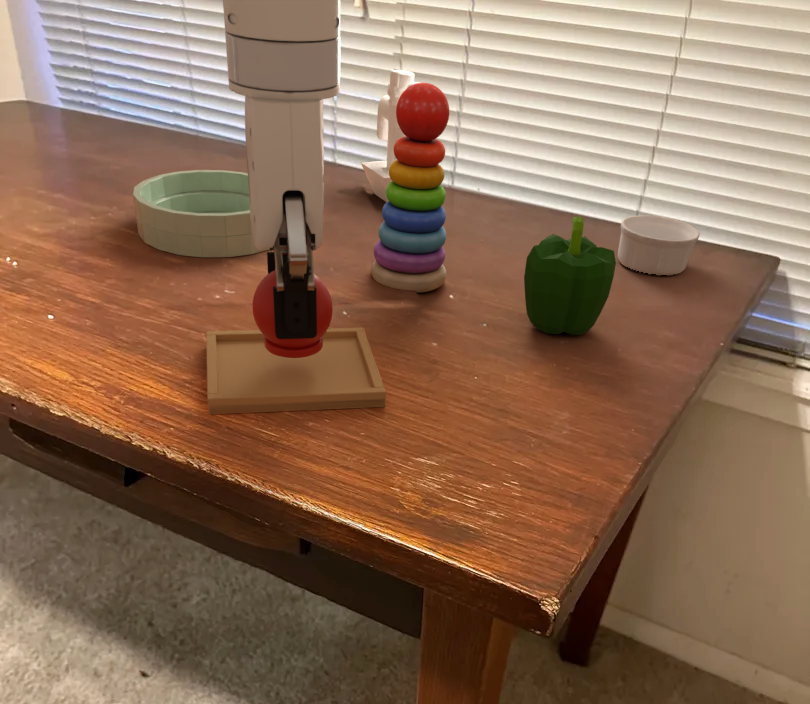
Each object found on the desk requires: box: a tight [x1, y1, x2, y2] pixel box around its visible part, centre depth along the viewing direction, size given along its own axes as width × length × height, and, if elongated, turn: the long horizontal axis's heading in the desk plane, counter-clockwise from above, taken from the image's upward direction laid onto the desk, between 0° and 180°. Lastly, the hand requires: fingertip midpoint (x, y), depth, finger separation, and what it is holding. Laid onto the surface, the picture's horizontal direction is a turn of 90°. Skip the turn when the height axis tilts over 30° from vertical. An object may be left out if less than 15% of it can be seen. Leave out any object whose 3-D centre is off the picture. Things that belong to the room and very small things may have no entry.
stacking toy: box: [370, 82, 450, 294], centre depth 81 cm, size 8×8×19 cm
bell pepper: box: [523, 216, 617, 336], centre depth 77 cm, size 8×8×10 cm
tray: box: [205, 327, 387, 415], centre depth 69 cm, size 14×12×1 cm
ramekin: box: [617, 214, 701, 276], centre depth 94 cm, size 9×9×4 cm
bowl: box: [132, 169, 270, 258], centre depth 92 cm, size 17×17×5 cm
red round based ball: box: [252, 270, 334, 358], centre depth 65 cm, size 6×6×7 cm
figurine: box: [360, 68, 421, 203], centre depth 105 cm, size 7×9×15 cm
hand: (292, 315), depth 66 cm, fingers closed on red round based ball, 6 cm apart
